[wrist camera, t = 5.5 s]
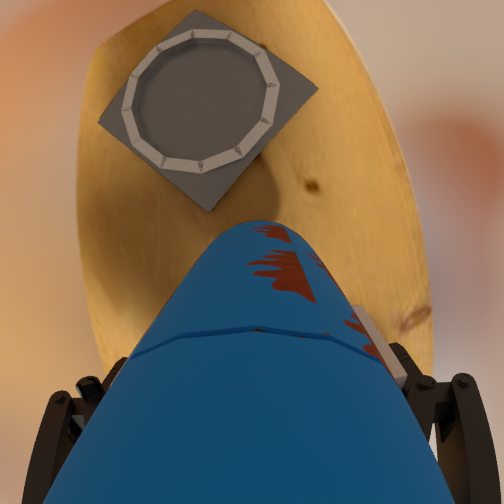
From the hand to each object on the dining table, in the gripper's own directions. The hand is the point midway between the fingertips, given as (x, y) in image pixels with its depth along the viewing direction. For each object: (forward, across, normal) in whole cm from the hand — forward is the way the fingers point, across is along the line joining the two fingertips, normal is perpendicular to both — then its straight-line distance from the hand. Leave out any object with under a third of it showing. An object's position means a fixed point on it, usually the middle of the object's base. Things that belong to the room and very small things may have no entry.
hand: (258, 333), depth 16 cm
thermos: (+9, 0, 0) cm, 9 cm away
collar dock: (+15, +5, -18) cm, 24 cm away
